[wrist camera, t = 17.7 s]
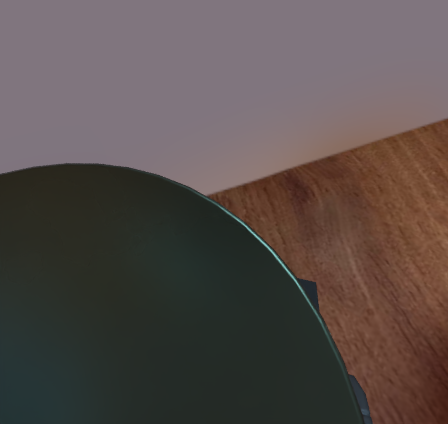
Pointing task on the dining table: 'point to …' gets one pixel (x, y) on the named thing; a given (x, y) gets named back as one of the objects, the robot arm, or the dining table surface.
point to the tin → (152, 309)
